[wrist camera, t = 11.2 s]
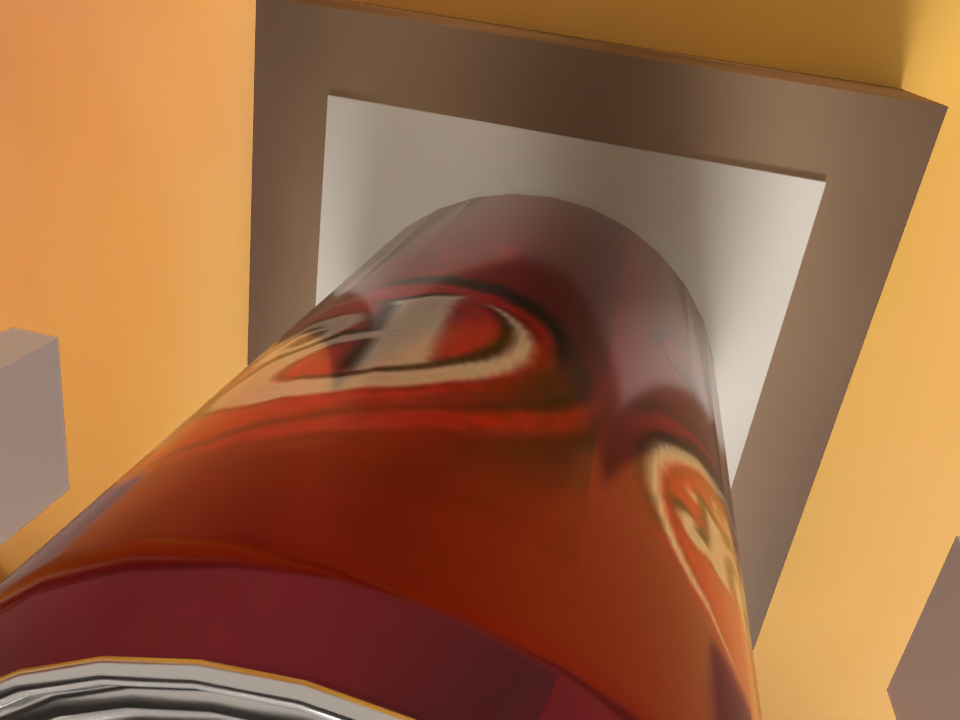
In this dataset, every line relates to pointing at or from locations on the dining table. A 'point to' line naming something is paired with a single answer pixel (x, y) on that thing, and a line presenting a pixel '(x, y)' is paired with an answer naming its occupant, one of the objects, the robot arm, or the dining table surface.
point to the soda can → (421, 507)
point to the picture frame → (602, 198)
